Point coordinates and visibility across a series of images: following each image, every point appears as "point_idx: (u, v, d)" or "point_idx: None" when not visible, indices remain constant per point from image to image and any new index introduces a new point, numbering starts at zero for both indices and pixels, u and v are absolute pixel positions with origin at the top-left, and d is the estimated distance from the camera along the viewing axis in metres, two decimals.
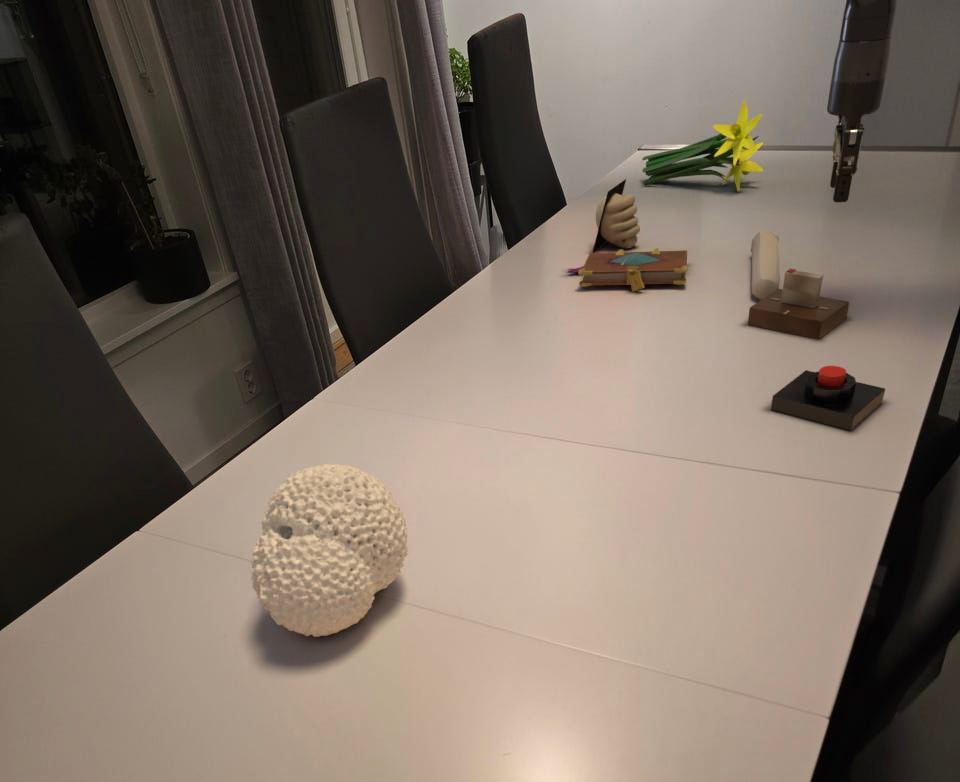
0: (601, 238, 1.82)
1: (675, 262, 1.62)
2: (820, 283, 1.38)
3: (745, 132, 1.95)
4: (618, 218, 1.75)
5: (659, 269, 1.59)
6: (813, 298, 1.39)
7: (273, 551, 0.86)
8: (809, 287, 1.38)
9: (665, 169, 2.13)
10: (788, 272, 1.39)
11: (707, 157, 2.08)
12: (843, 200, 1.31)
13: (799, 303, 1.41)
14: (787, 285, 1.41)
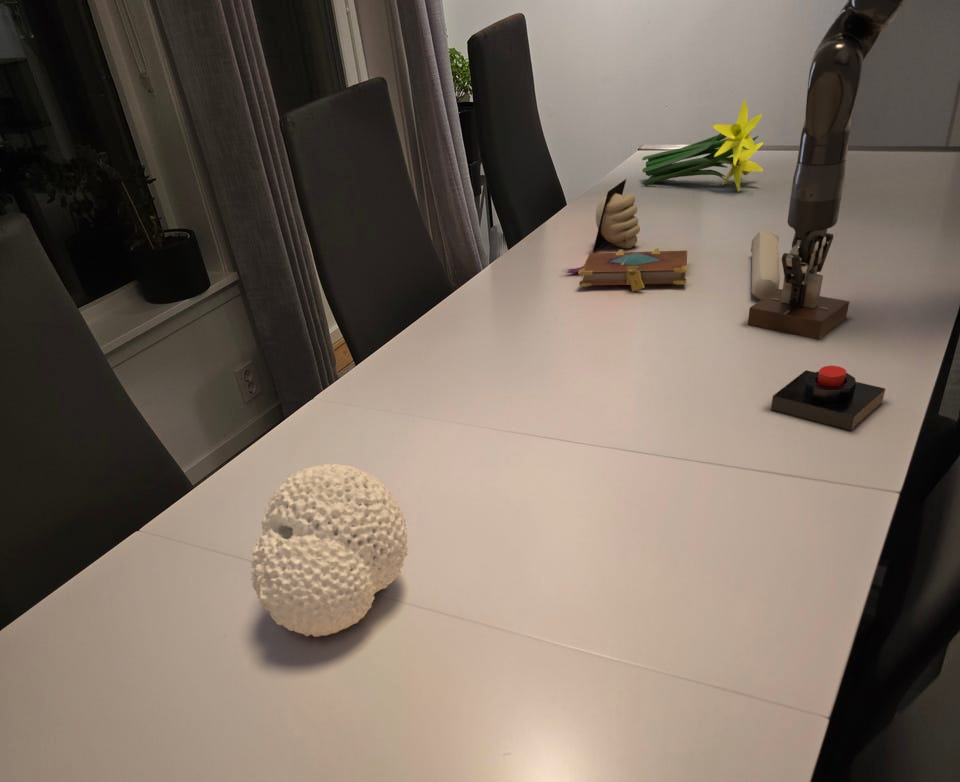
0: (601, 238, 1.82)
1: (675, 262, 1.62)
2: (820, 283, 1.38)
3: (745, 132, 1.95)
4: (618, 218, 1.75)
5: (659, 269, 1.59)
6: (813, 298, 1.39)
7: (273, 551, 0.86)
8: (809, 287, 1.38)
9: (665, 169, 2.13)
10: None
11: (707, 157, 2.08)
12: (797, 306, 1.41)
13: None
14: (787, 285, 1.41)
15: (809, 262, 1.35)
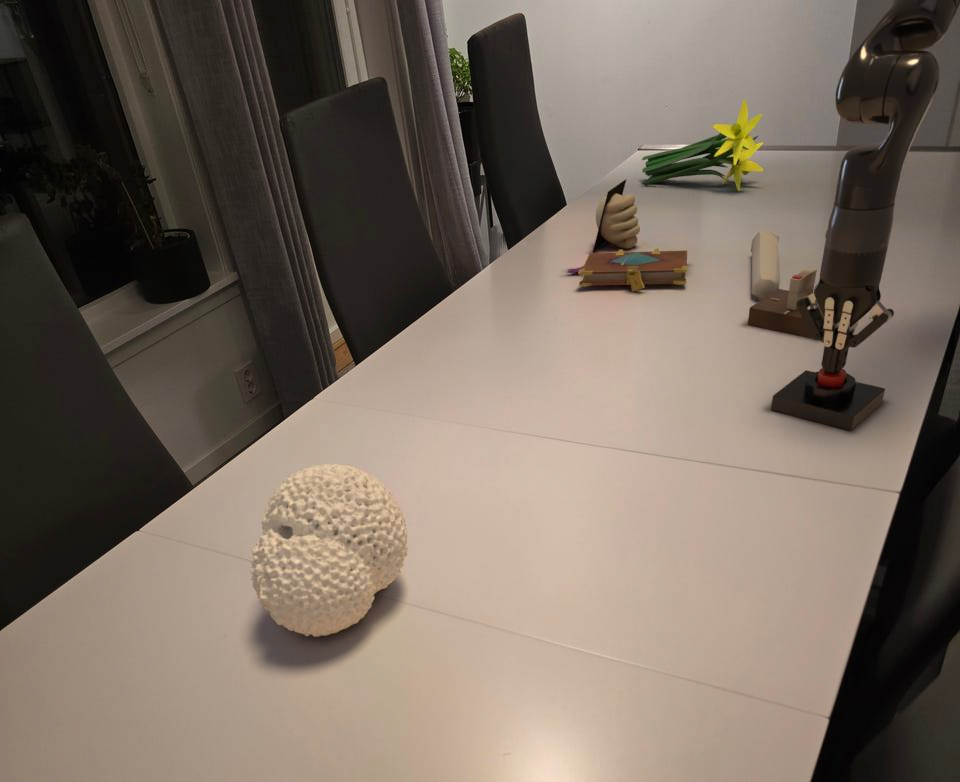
0: (601, 238, 1.82)
1: (675, 262, 1.62)
2: None
3: (745, 132, 1.95)
4: (618, 218, 1.75)
5: (659, 269, 1.59)
6: (813, 289, 1.42)
7: (273, 551, 0.86)
8: (811, 281, 1.40)
9: (665, 169, 2.13)
10: (800, 278, 1.37)
11: (707, 157, 2.08)
12: None
13: None
14: (800, 291, 1.38)
15: None
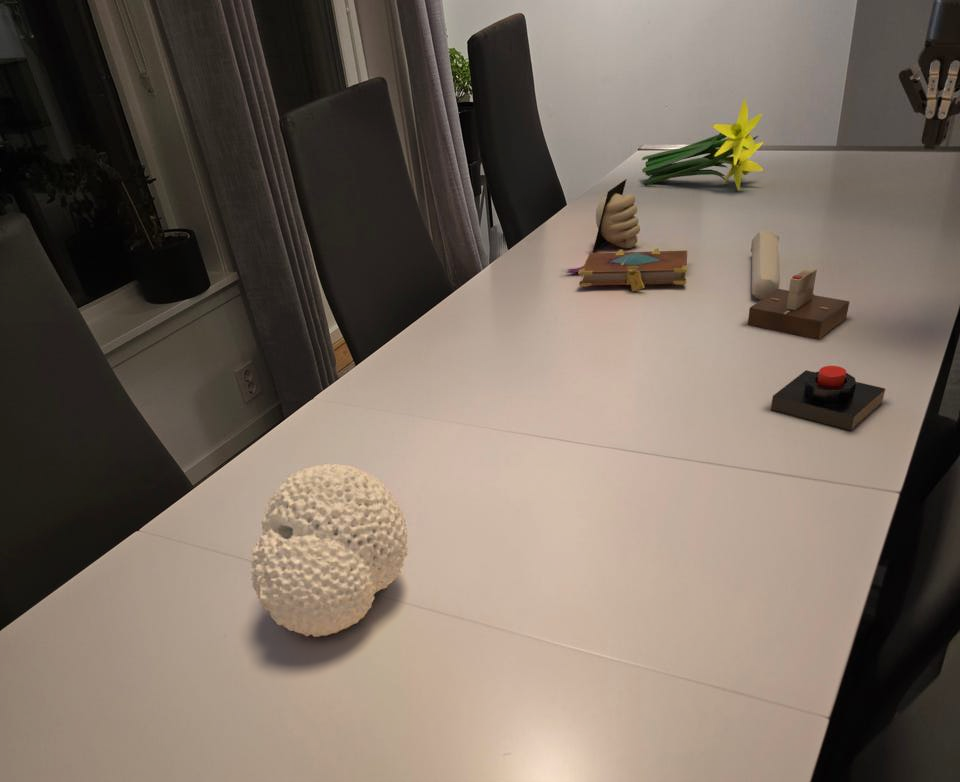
0: (601, 238, 1.82)
1: (675, 262, 1.62)
2: None
3: (745, 132, 1.96)
4: (618, 218, 1.75)
5: (659, 269, 1.59)
6: (813, 289, 1.42)
7: (273, 551, 0.86)
8: (811, 281, 1.40)
9: (665, 169, 2.13)
10: (800, 278, 1.37)
11: (707, 157, 2.08)
12: (938, 145, 1.18)
13: (805, 301, 1.41)
14: (800, 291, 1.38)
15: None
